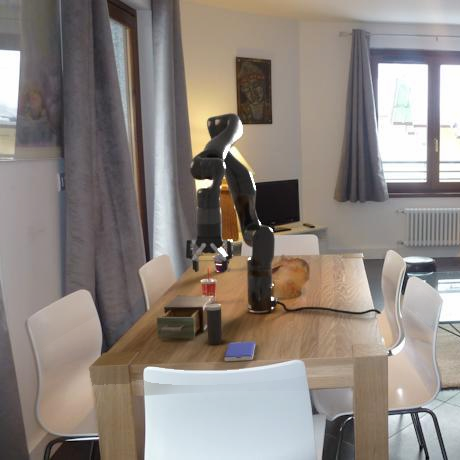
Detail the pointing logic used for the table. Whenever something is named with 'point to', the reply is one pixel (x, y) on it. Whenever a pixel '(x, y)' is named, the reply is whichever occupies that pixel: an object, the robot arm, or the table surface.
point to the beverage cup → (209, 287)
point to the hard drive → (240, 351)
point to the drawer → (179, 324)
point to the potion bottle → (219, 261)
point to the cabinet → (192, 306)
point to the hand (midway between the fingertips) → (210, 271)
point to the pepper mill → (214, 324)
